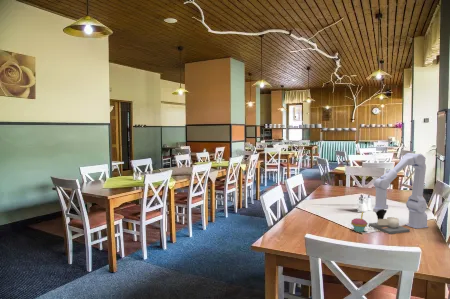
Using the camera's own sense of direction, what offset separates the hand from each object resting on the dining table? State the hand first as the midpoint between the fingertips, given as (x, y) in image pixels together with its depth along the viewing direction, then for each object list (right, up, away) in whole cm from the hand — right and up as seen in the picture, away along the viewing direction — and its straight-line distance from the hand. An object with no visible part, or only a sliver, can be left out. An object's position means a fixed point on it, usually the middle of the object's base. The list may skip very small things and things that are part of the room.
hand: (380, 221), depth 185 cm
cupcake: (-14, -4, -4) cm, 15 cm away
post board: (+5, -4, 0) cm, 6 cm away
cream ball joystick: (+3, -1, -2) cm, 4 cm away
